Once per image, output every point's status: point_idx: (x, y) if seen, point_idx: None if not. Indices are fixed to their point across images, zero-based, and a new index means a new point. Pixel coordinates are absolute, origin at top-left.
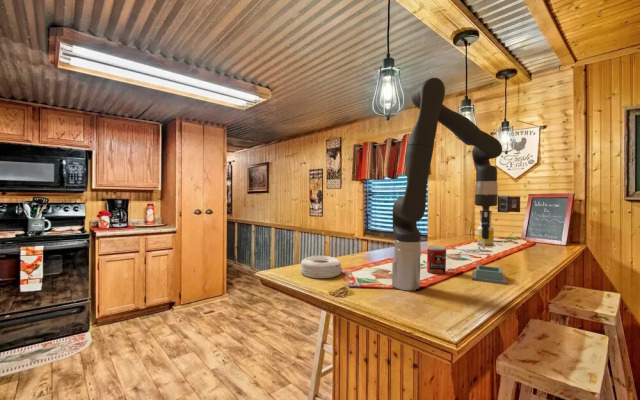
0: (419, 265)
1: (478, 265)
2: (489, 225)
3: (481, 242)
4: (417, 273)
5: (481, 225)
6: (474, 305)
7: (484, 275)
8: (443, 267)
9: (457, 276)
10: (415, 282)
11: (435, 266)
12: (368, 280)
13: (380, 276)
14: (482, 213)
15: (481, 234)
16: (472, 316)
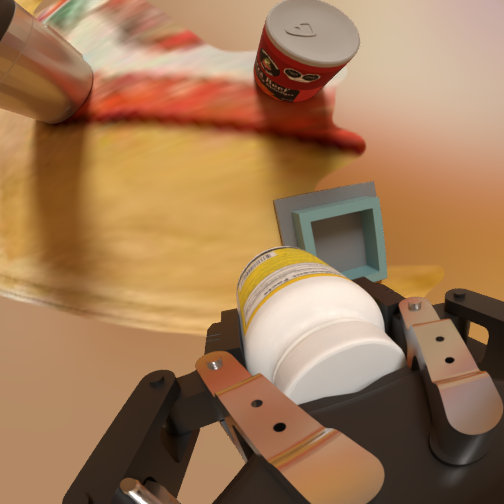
0: (19, 108)
1: (375, 204)
2: (182, 436)
3: (240, 288)
4: (26, 114)
5: (148, 381)
6: (49, 272)
7: (299, 239)
8: (280, 92)
9: (287, 147)
10: (36, 119)
11: (257, 68)
12: (71, 15)
13: (118, 3)
14: (67, 501)
15: (242, 312)
16: (9, 282)
